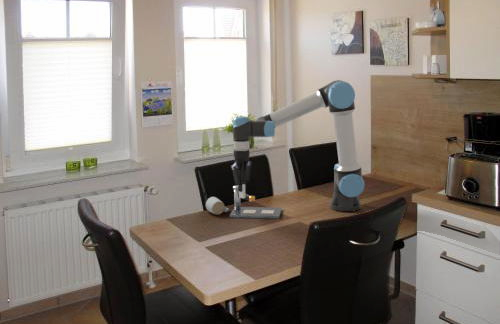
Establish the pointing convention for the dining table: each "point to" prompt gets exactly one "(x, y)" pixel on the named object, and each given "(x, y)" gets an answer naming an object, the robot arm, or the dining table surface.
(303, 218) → the dining table surface
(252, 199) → the swing arm
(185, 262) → the dining table surface
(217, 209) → the ceramic mug
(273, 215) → the grey base with post
